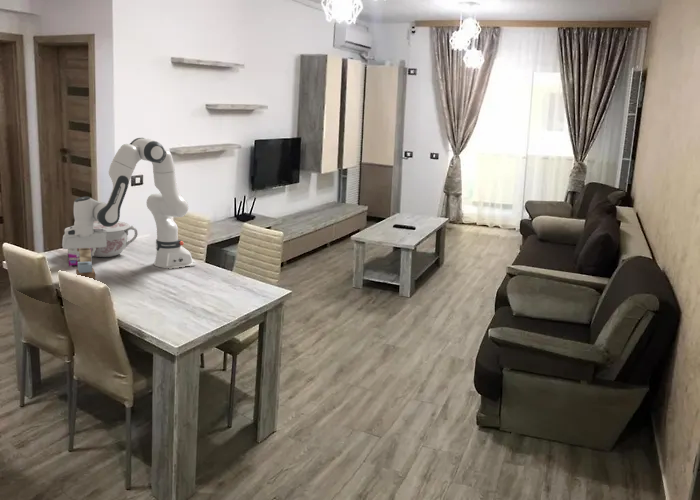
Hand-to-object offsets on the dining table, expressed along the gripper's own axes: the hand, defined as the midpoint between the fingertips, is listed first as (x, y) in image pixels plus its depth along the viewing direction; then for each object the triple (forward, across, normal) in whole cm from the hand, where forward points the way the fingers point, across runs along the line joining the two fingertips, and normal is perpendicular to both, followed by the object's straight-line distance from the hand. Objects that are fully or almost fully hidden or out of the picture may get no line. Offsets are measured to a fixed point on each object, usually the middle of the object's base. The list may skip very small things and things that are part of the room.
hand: (85, 256), depth 305 cm
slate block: (+8, 0, 0) cm, 8 cm away
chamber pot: (+12, -13, -40) cm, 44 cm away
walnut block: (+12, 0, 0) cm, 12 cm away
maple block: (+2, 0, 0) cm, 2 cm away
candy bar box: (+12, +1, -23) cm, 26 cm away
